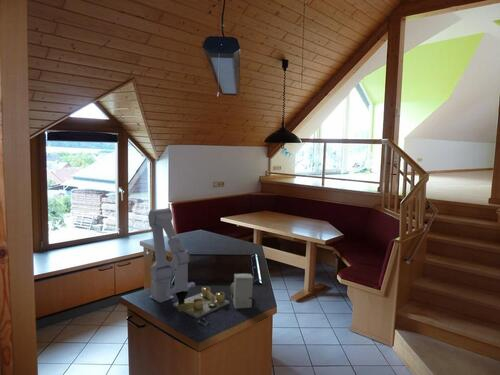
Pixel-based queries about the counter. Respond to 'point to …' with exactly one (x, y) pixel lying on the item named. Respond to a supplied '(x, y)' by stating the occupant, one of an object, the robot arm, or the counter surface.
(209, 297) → the knob
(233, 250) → the counter surface
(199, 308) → the knob
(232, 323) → the counter surface
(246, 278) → the skincare box
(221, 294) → the levelling plate
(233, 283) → the ceramic mug
